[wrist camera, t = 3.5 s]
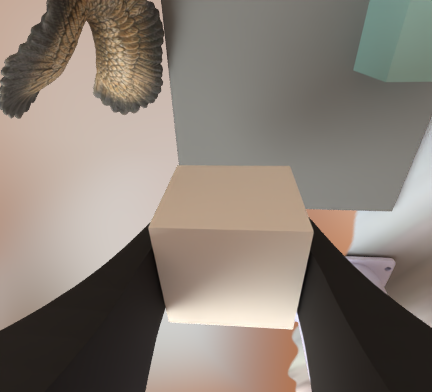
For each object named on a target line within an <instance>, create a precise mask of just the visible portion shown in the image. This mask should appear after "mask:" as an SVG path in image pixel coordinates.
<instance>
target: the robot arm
mask: <svg viewBox="0 0 432 392" xmlns="http://www.w3.org/2000/svg"><path fill="white" fill-rule="evenodd" d="M309 220H310V223H311V225H312V228H313V231H314V233H313V238H312V243H311V247H310V252H309V257H308V261H307V266H306V271H305V275H304V280H303V284H302V289H301V294H300V298H299V303H298V308H297V312H296V317H295V321H298V323H299V329H300V334H301V339H302V344H303V349H304V354H305V360H306V365H307V370H308V375H309V379H310V382H311V389H312V392H432V328H431V327H430V326H428V325H427V324H426V323H424V322H423V321H421V320H420V319H419V318H417V317H416V316H414V315H413V314H412V313H410V312H409V311H407V310H406V309H405V308H404V307H402V306H401V305H400V304H398V303H397V302H396V301H394V300H393V299H392V298H391V297H389V296H388V294H387V292H386V290H385V288H384V287H385V285H386V283H387V281H388V279H389V277H390V275H391V273H392V271H393V269H394V267H395V265H396V263H395V261H394V260H393V259H392V258H377V257H353V256H344V255H343V254H342V253H341V252H340V251H339V250H338V249H337V248H336V247H335V246H334V245H333V244H332V243H331V242H330V240H329V239H328V238H327V237H326V236H325V235H324V234H323V233H322V232H321V231H320V229H319V228H318V227H317V226H316V225H315V224H314V222H313V221H312V220H311V219H310V218H309ZM150 223H151V222H150ZM150 223H149V224H148V225H147V226H146V227H145V228H144V229H143V230H142V231H141V232H140V233H139V234H138V235H137V236H136V237H135V238H134V239H133V240H132V241H131V242H130V243H128V244H127V245H126V246H125V247H124V248H123V249H122V250H121V251H120V252H119V253H117V254H116V255H115V256H114V257H113V258H112V259H110V260H109V261H108V262H107V263H106V264H104V265H103V266H102V267H101V268H99V269H98V270H97V271H95V272H94V273H93V274H91V275H90V276H89V277H87V278H86V279H85V280H83V281H82V282H80V283H79V284H78V285H76V286H75V287H73V288H72V289H70V290H69V291H67V292H65V293H64V294H62V295H61V296H59V297H58V298H56V299H55V300H53V301H51V302H50V303H48V304H47V305H45V306H43V307H42V308H40V309H38V310H37V311H35V312H33V313H32V314H30V315H28V316H26V317H25V318H23V319H21V320H19V321H17V322H15V323H14V324H12V325H10V326H8V327H6V328H5V329H3V330H1V331H0V392H145V390H146V385H147V380H148V375H149V370H150V365H151V360H152V356H153V351H154V346H155V342H156V337H157V334H158V330H159V327H160V323H161V320H162V317H163V314H164V311H165V308H166V306H165V302H164V297H163V293H162V288H161V284H160V279H159V274H158V270H157V265H156V261H155V256H154V252H153V247H152V243H151V238H150V234H149V229H148V227H149V225H150Z"/></svg>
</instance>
